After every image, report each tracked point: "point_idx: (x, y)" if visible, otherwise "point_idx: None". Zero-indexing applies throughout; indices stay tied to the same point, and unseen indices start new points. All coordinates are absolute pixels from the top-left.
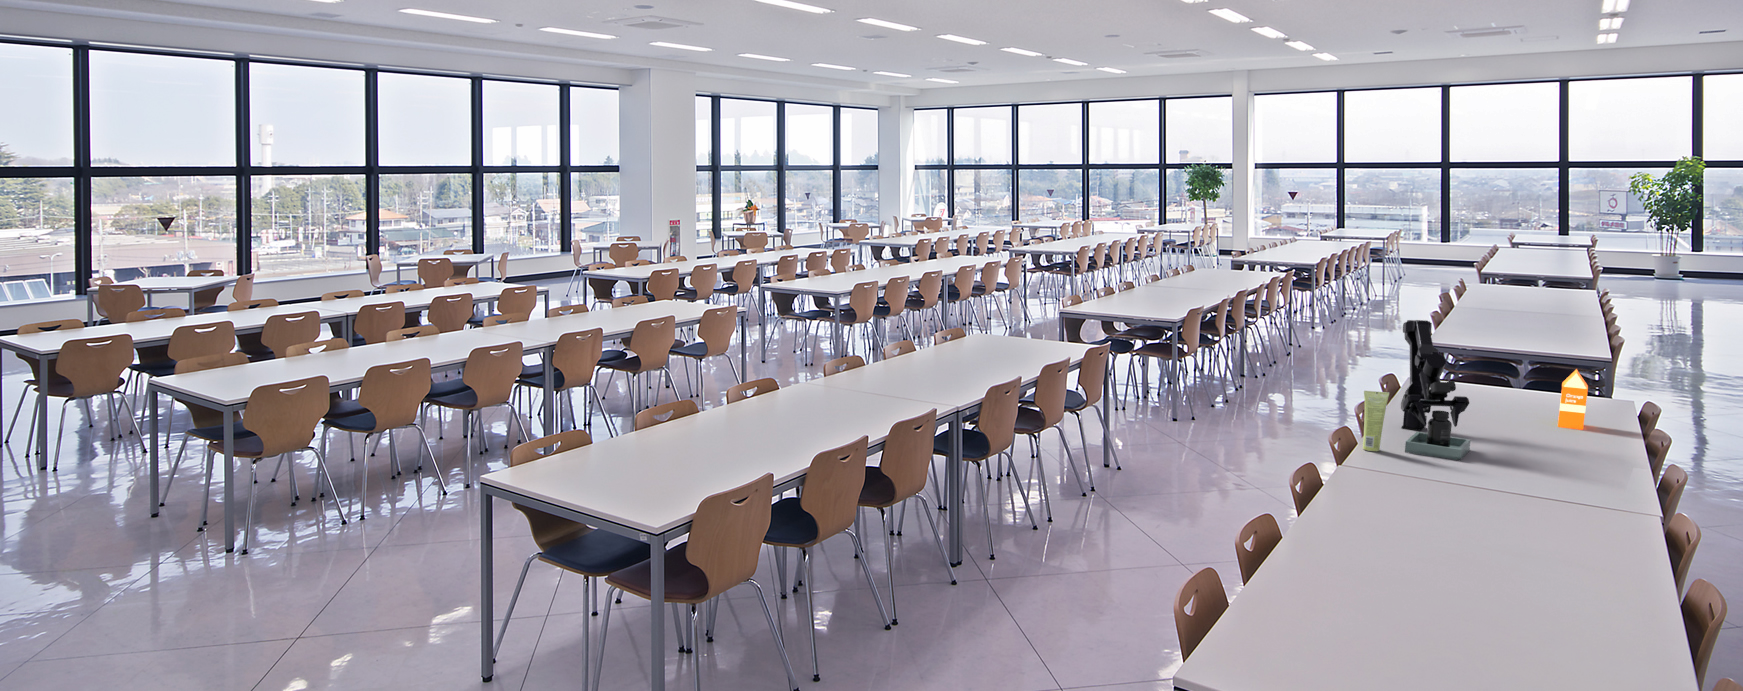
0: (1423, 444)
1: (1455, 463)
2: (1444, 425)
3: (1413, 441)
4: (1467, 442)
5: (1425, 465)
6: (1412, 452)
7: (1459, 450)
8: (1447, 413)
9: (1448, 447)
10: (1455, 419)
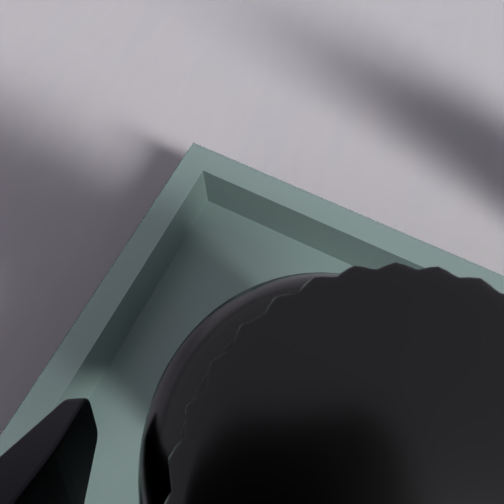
0: (443, 251)
1: (248, 128)
2: (297, 274)
3: None
4: (22, 409)
5: (416, 68)
6: None
7: (202, 151)
8: (251, 324)
9: (266, 190)
10: (26, 478)
